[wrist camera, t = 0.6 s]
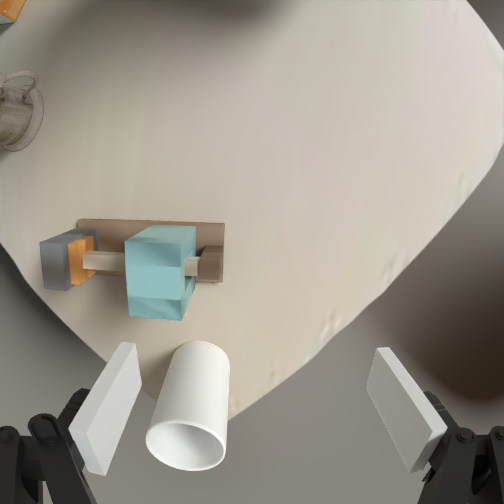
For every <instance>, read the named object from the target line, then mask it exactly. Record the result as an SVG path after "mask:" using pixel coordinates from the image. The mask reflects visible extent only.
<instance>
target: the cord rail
mask: <svg viewBox="0 0 504 504" xmlns="http://www.w3.org/2000/svg"><path fill="white" fill-rule="evenodd" d="M151 225H174V226H196V248H195V257H193V256H188V257H187V258H186V260H185V276H195V281H205V282H222V280H223V251H224V227H225V224H224V223H202V222H177V221H149V220H113V219H79V220H78V228H76V229H73V230H71V231H68V232H65V233H63V234H60V235H58V236H55V237H52V238H50V239H47V240H45V241H42V242H40V253H41V263H42V272H43V280H44V287H45V288H47V289H55V290H63V291H67V290H68V289H70V288H71V287H72V286H74V285H80V284H81V283H82V282H84V281H85V280H86V279H88V278H89V277H90V276H92V275H93V274H103V275H115V276H126V265H125V241H126V240H127V239H129V238H131V237H132V236H134V235H136V234H137V233H139V232H141V231H143V230H144V229H146V228H148V227H149V226H151Z"/></svg>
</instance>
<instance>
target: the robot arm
mask: <svg viewBox="0 0 504 504" xmlns="http://www.w3.org/2000/svg"><path fill="white" fill-rule="evenodd" d="M141 386H142V382H141V377H140V370H139V364H138V358H137V351H136V343H131V342H121V343H120V345H119V347H118V348H117V350H116V351H115V353H114V354H113V356H112V357H111V359H110V361H109V362H108V364H107V365H106V367H105V368H104V370H103V372H102V373H101V375H100V376H99V378H98V380H97V381H96V383H95V384H94V386H93V388H92V389H91V390H88V389H83V388H81V389H80V390H78V391H77V392H76V393H74V394H73V396H72V397H71V399H70V400H69V403H67V405H66V406H65V408H64V409H63V411H62V413H61V414H60V415H59V417H58V419H56V417H54V416H53V415H51V414H46V413H45V414H38V415H35V416H34V417H32V418H31V419H30V421H29V422H28V429H29V431H30V433H31V435H32V436H20V434H19V433H18V431H17V429H15V428H14V427H11V426H3V427H0V504H43V485H42V481H46V484H47V487H48V490H49V493H50V496H51V499H52V502H53V504H97V502H96V500H95V498H94V496H93V494H92V492H91V490H90V488H89V485H88V483H87V481H86V479H85V476H84V474H83V472H82V469H83V467H84V465H86V467H87V469H88V471H89V472H92V473H96V474H99V475H103V476H105V475H106V473H107V470H108V467H109V465H110V462H111V459H112V457H113V454H114V452H115V449H116V447H117V444H118V442H119V439H120V437H121V434H122V431H123V429H124V427H125V424H126V422H127V419H128V417H129V414H130V412H131V410H132V407H133V405H134V402H135V400H136V397H137V395H138V393H139V391H140V388H141ZM366 390H367V392H368V394H369V396H370V398H371V400H372V402H373V404H374V406H375V407H376V409H377V411H378V413H379V415H380V417H381V419H382V421H383V423H384V425H385V427H386V429H387V431H388V432H389V435H390V437H391V439H392V441H393V443H394V445H395V447H396V449H397V451H398V453H399V455H400V457H401V459H402V461H403V463H404V465H405V467H406V469H407V471H408V473H412V472H416V471H419V470H423V468H424V467H425V465H426V464H427V462H428V461H429V463H430V465H431V468H430V470H429V471H428V473H427V474H426V476H425V477H424V479H423V480H422V481H423V482H424V481H425V479H426V481H425V484H424V487H423V490H422V492H421V495H420V498H419V501H418V504H467V503H468V504H504V427H503V426H495V427H493V428H492V429H491V431H490V432H489V434H488V435H475V433H474V432H473V431H471V430H470V429H468V428H462V427H460V428H459V426H458V425H457V423H456V422H455V421H454V420H453V418H452V417H451V415H450V414H449V413H448V412H447V410H445V407H444V406H443V405H441V402H440V401H439V400H438V398H437V397H436V396H435V395H433V394H432V393H430V392H429V391H427V392H422V391H421V390H420V388H419V387H418V385H417V384H416V383H415V381H414V380H413V378H412V377H411V376H410V375H409V373H408V372H407V371H406V369H405V368H404V367H403V365H402V364H401V362H400V361H399V360H398V359H397V357H396V356H395V355H394V353H393V352H392V351H391V349H390V348H389V347H384V348H376V352H375V356H374V359H373V363H372V367H371V371H370V375H369V378H368V381H367V385H366Z"/></svg>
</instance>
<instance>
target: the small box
mask: <svg viewBox="0 0 504 504" xmlns="http://www.w3.org/2000/svg"><path fill="white" fill-rule="evenodd" d="M25 1H26V0H0V24H5V23H11V22H15V21H16V19H17V17H18V14H19V12H20V11H21V9H22V7H23V5H24V3H25Z"/></svg>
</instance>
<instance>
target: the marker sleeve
mask: <svg viewBox="0 0 504 504" xmlns="http://www.w3.org/2000/svg"><path fill="white" fill-rule="evenodd" d="M195 248H196V226H174V225H151V226H149V227H148V228H146V229H144V230H143V231H141V232H139V233H137V234H136V235H134V236H132V237H131V238H129V239H127V240H126V241H125V265H126V282H127V296H128V308H129V316H134V317H144V318H154V319H166V320H178V321H182V318H183V316H184V313H185V311H186V308H187V306H188V303H189V301H190V298H191V296H192V293H193V291H194V288H195V276H185V260H186V258H187V257H188V256H193V257H195Z"/></svg>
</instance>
